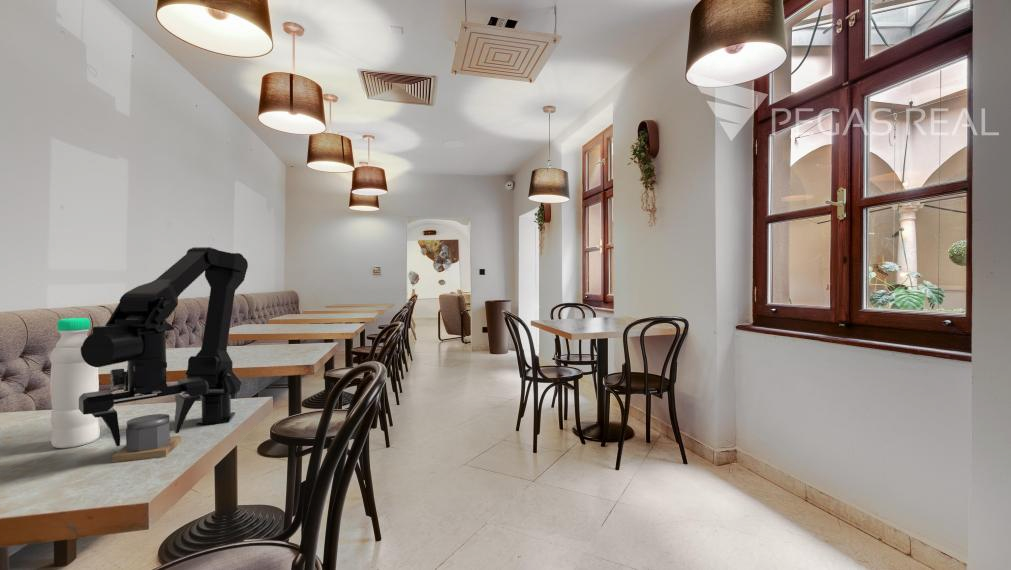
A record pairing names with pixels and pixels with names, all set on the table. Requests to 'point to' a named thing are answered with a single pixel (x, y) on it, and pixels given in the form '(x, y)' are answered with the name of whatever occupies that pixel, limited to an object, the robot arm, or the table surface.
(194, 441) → the table surface
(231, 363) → the robot arm
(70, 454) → the table surface
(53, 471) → the table surface
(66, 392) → the water bottle
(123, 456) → the stud block
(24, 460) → the table surface
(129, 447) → the cap
